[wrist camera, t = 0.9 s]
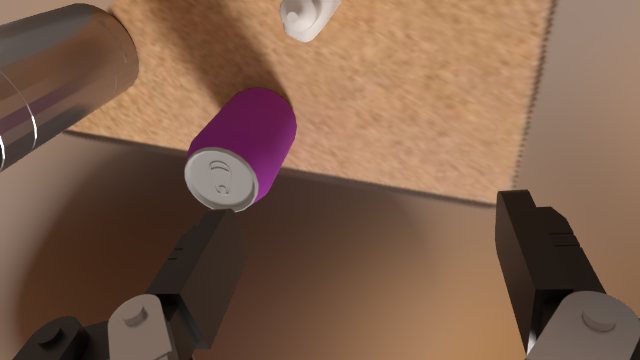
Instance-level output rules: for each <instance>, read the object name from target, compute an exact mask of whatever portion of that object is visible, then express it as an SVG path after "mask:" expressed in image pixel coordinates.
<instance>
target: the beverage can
mask: <svg viewBox="0 0 640 360" xmlns="http://www.w3.org/2000/svg"><path fill="white" fill-rule="evenodd" d="M296 129H297V123H296V118H295V114H294V112H293V111H292V109H291V107H290V105H289V104H288V103H287V102H286V101H285V100H284V99H283V98H282V97H281V96H279V95H278V94H276V93H274V92H272V91H271V90H267V89H263V88H248V89H246V90H243V91H241V92H239V93H237V94H236V95H235V96H234V97H233V98H232V99H231V100H230V101H229V102H228V103H227V104H226V105H225V106H224V107H223V108H222V109H221V110H220V111H219V112H218V114H217V115H216V116H215V117H214V118H213V119H212V120H211V121H210V122H209V123H208V124H207V125H206V127H205V128H204V129H203V130H202V131H201V132H200V133H199V134H198V135H197V136H196V137H195V138H194V140H193V141H192V142H191V145H190V147H189V150H188V154H187V160H186V166H185V170H184V171H185V181H186V183H187V186H188V188H189V190H190V191H191V192H192V194H193V195H194V197H196V198H197V199H198V200H199V201H200V202H201V203H203V204H204V205H206V206H208V207H210V208H212V209H228V208H231V209H233V210H234V212H238V211H241V210H244V209H246V208H247V207H248V206H249V205H251V204H253V203H254V202H256V201H258V200H259V199H260V198H262V197H263V196H264V195H266V194H267V192H268V190H269V189H270V187H271V185H272V183H273V181H274V179H275V177H276V175H277V173H278V171H279V169H280V167H281V165H282V163H283V161H284V159H285V157H286V155H287V153H288V151H289V149H290V147H291V145H292V143H293V141H294V139H295V135H296Z"/></svg>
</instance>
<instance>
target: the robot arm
mask: <svg viewBox="0 0 640 360" xmlns="http://www.w3.org/2000/svg"><path fill="white" fill-rule="evenodd" d="M138 65H139V62H138V56H137V52H136V49H135V46H134V44H133V42H132V40H131V38H130V36H129V34H128V33H127V32H126V30H125V29H124V28H123V26H122V25H121V24H120V23H119V22H118V21H117V20H116V19H115V18H114V17H113V16H111V15H110V14H108V13H107V12H105V11H104V10H102V9H100V8H98V7H95V6H92V5H88V4H72V5H69V6H66V7H62V8H58V9H55V10H51V11H48V12H45V13H40V14H37V15H34V16H30V17H27V18H23V19H20V20H17V21H13V22H10V23H7V24H3V25H0V172H2V171H3V170H5V169H7V168H8V167H9V166H11V165H13V164H14V163H16V162H17V161H19V160H20V159H22V158H23V157H24V156H26V155H28V154H29V153H31V152H32V151H34V150H35V149H37V148H38V147H40V146H41V145H43V144H44V143H46V142H47V141H49V140H51V139H52V138H54V137H55V136H56V135H58V134H60V133H61V132H63V131H64V130H66V129H67V128H69V127H70V126H72V125H74V124H75V123H77V122H78V121H80V120H81V119H83V118H84V117H86V116H87V115H89V114H90V113H92V112H93V111H95V110H97V109H98V108H100V107H101V106H103V105H104V104H106V103H108V102H109V101H111V100H112V99H114V98H115V97H117V96H118V95H120V94H121V93H123V92H124V91H126V90H127V89H128V88H130V87H131V86H132V85H133V83H134V82H135V80H136V78H137V74H138ZM495 242H496V250H497V255H498V258H499V262H500V265H501V269H502V272H503V276H504V279H505V283H506V286H507V289H508V293H509V297H510V300H511V304H512V307H513V311H514V314H515V317H516V321H517V324H518V328H519V332H520V335H521V339H522V342H523V346H524V349H525V353H526V358H525V360H640V319H639V318H638V316H637V315H636V314H635V313H634V311H633V310H632V309H631V308H630V307H629V306H627V305H626V304H625V303H623V302H622V301H620V300H618V299H616V298H614V297H612V296H609V295H607V294H606V292H605V290H604V288H603V286H602V285H601V283H600V281H599V279H598V277H597V275H596V273H595V272H594V270H593V268H592V266H591V264H590V262H589V260H588V259H587V257H586V255H585V253H584V251H583V249H582V248H580V244H579V242H578V240H577V238H576V236H574V234H573V231H572V229H571V227H570V225H569V223H568V221H567V220H566V218H565V217H563V216H562V215H561V214H560V213H558V212H557V211H556V210H554V209H553V208H552V207H536V205H535V203H534V201H533V199H532V197H531V195H530V192H529V191H528V190H510V191H498V193H497V204H496V225H495ZM247 259H248V247H247V243H246V240H245V238H244V235H243V232H242V229H241V227H240V224H239V222H238V219H237V216H236V214H235V212H234V210H233V209H231V208H228V209H212V210H208V211H207V212H206V213H205V215H204V216H203V218H202V219H201V221H200V223H199V224H198V226H193V227H192V228H191V229H190V230H189V231H188V232H186V233H185V234H184V235H183V236H182V237H181V239H180V240H179V241H178V243H177V245H176V246H175V248H174V251H172V252H171V254H170V255H169V257H168V261H165V263H164V264H163V266H162V268H161V269H160V271H159V272H158V274H157V275H156V277H155V278H154V280H153V282H152V283H151V285H150V286H149V287H148V289H147V291H146V292H145V294H144V295H140V296H137V297H134V298H132V299H130V300H128V301H126V302H125V303H123V304H122V305H121V306H120V307H119V308H118V309H117V310H116V311H115V312H114V313H113V315H112V316H111V318H110V320H108V321H104V322H100V323H97V324H93V325H90V326H86V327H83V326H82V325H81V324H80V322H79V321H78V320H77V318H75V317H72V316H65V317H60V318H57V319H55V320H53V321H51V322H49V323H47V324H45V325H44V326H43V327H41V328H40V329H38V330H37V331H36V332H35V333H34V334H33V335H32V336H31V337H30V339H29V340H28V341H27V342H26V343H25V345H24V346H23V347H22V349H21V350H20V351H19V352H18V354H17V355H16V356H15V357H14V359H13V360H194V358H193V356H192V354H193V351H194V349H210V348H211V345H212V343H213V341H214V338H215V336H216V334H217V331H218V329H219V327H220V324H221V322H222V320H223V317H224V315H225V312H226V310H227V308H228V305H229V303H230V301H231V298H232V295H233V293H234V291H235V289H236V286H237V284H238V282H239V279H240V277H241V274H242V272H243V270H244V267H245V265H246V262H247Z"/></svg>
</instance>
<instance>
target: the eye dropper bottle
mask: <svg viewBox="0 0 640 360" xmlns="http://www.w3.org/2000/svg"><path fill="white" fill-rule="evenodd" d="M340 2H341V0H283V1H282V2H281V5H280V16H281V19H282V21H283V27H284V30H285V32H286V33H287V34H288V35H289V36H291V37H293V38H295V39H297V40H299V41H302V42H309V41H311V40H312V39H313V38H315V37H316V36H317V35H318V33H319V32H320V31H321V30H322V28H323V27H324V26H325V24H326V23H327V22H328V20H329V19H330V17H331V16H332V15H333V13H334V12H335V10H336V9H337V7H338V6H339V4H340Z"/></svg>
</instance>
